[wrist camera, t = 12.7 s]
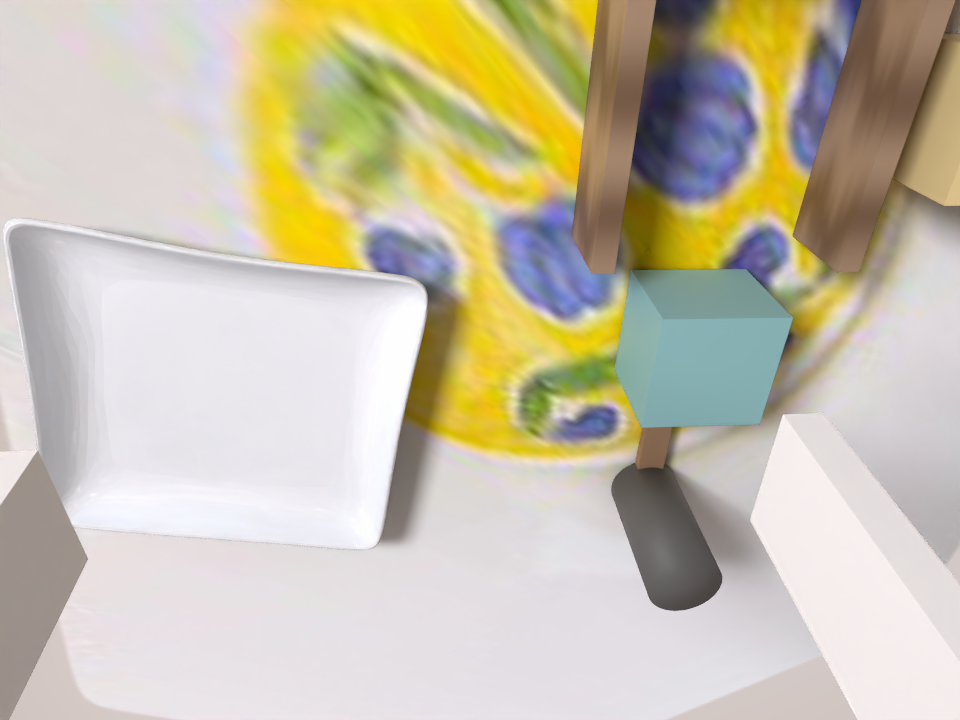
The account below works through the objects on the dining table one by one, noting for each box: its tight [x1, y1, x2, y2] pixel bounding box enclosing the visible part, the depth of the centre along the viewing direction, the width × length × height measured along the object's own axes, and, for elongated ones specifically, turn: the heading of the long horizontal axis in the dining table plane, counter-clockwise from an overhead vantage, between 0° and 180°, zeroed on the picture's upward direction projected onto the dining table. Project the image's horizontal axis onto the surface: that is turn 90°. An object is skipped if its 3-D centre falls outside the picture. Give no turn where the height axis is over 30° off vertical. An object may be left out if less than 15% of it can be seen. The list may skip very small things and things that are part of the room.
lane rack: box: [572, 0, 956, 274], centre depth 33 cm, size 18×28×7 cm, turn 88°
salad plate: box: [3, 218, 428, 550], centre depth 42 cm, size 21×21×3 cm
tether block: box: [611, 269, 793, 611], centre depth 42 cm, size 19×7×9 cm, turn 178°
